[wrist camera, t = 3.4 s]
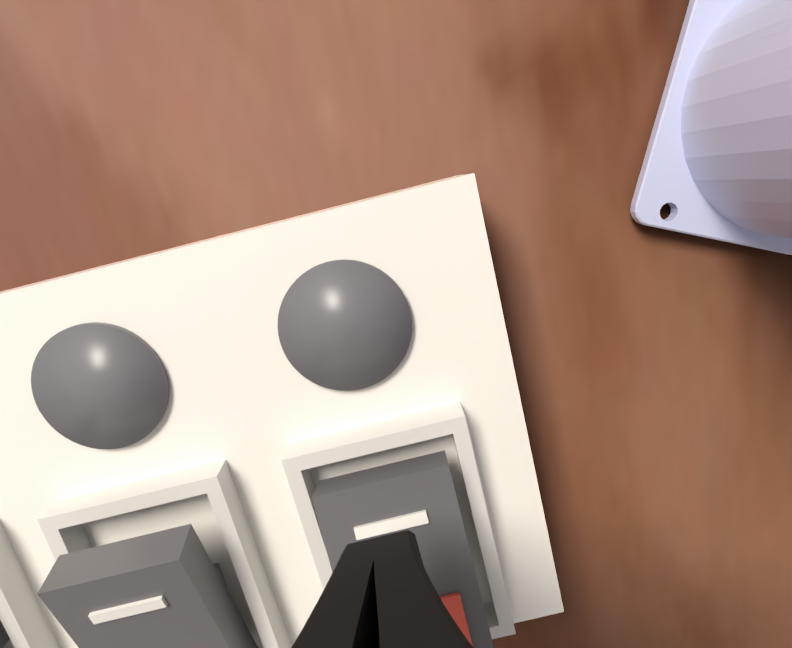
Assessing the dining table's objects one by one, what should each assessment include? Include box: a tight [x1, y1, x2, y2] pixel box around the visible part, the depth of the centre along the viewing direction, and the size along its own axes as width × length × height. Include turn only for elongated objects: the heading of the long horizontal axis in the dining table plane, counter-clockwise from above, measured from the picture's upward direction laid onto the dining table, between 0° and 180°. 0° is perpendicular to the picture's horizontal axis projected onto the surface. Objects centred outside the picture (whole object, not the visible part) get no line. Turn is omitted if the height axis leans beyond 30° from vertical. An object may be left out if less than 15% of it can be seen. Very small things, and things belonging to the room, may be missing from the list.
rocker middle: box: [37, 524, 258, 648], centre depth 14 cm, size 3×5×1 cm, turn 14°
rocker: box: [312, 450, 494, 648], centre depth 14 cm, size 3×5×1 cm, turn 14°
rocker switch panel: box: [0, 173, 564, 648], centre depth 16 cm, size 21×13×4 cm, turn 104°
